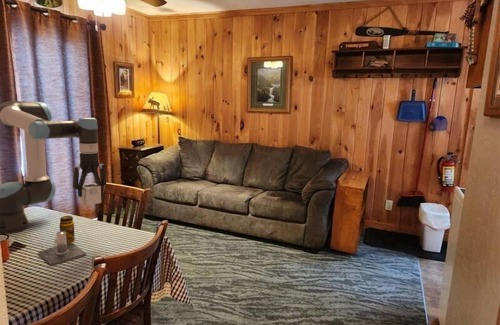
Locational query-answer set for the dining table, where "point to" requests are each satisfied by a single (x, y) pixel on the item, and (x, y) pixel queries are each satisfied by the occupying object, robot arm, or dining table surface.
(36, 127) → the robot arm
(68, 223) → the condiment
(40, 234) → the dining table surface
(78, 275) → the dining table surface
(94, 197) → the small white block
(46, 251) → the plate
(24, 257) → the dining table surface
